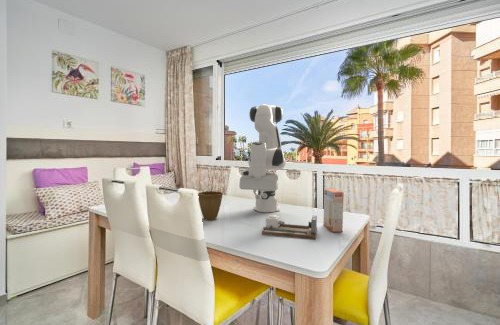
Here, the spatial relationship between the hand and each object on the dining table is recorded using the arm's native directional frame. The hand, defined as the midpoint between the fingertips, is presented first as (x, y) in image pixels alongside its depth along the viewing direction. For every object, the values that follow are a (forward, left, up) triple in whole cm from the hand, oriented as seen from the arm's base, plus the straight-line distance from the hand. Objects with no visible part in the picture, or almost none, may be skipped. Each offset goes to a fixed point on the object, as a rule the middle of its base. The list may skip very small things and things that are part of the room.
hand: (258, 198), depth 144 cm
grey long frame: (0, +17, -15) cm, 23 cm away
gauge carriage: (+1, +9, -14) cm, 17 cm away
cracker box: (-14, +38, -17) cm, 44 cm away
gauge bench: (0, +17, -17) cm, 24 cm away
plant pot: (-12, -33, -17) cm, 39 cm away
